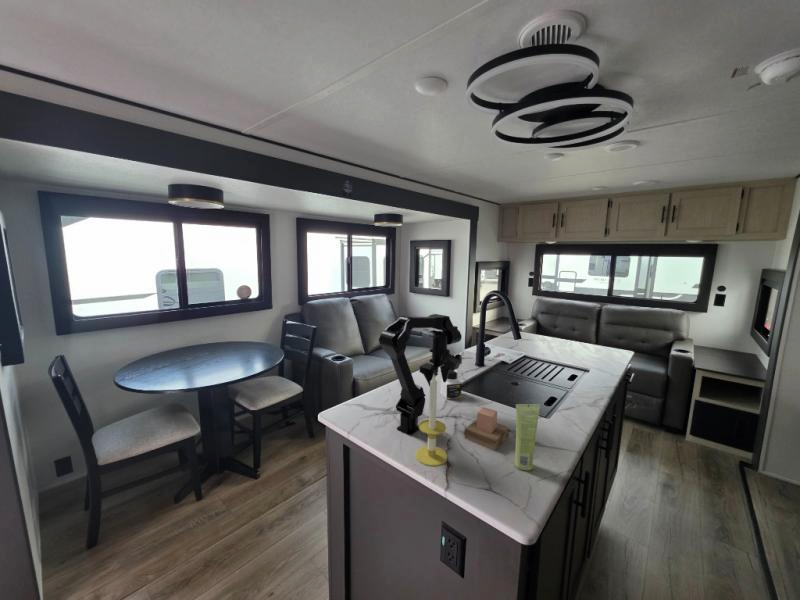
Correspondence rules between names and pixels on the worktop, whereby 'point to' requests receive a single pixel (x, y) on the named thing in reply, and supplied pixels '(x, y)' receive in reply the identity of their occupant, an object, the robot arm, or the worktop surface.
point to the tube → (526, 434)
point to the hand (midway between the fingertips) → (438, 385)
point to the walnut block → (487, 436)
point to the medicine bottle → (451, 386)
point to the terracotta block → (487, 420)
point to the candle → (432, 433)
